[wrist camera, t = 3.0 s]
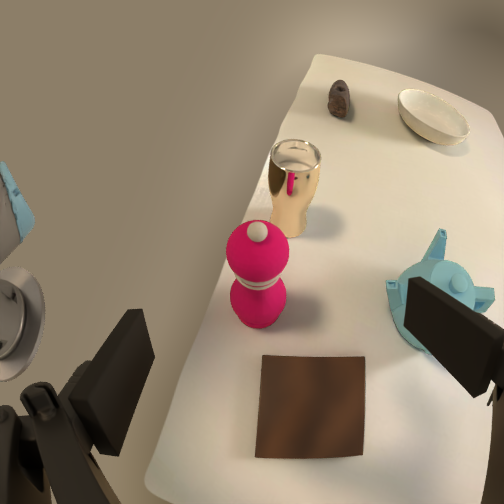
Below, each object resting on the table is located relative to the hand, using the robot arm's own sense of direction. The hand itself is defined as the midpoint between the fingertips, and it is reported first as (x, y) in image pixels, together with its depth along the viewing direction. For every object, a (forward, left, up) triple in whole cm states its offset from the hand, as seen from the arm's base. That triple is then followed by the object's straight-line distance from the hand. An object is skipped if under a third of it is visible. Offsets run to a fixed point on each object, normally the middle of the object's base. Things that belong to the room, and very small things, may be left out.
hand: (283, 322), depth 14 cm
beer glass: (+2, +26, -28) cm, 38 cm away
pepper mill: (-2, +11, -28) cm, 29 cm away
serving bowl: (+40, +60, -28) cm, 77 cm away
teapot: (+24, +11, -28) cm, 38 cm away
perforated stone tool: (+15, +64, -28) cm, 71 cm away
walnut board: (+6, -3, -27) cm, 28 cm away
